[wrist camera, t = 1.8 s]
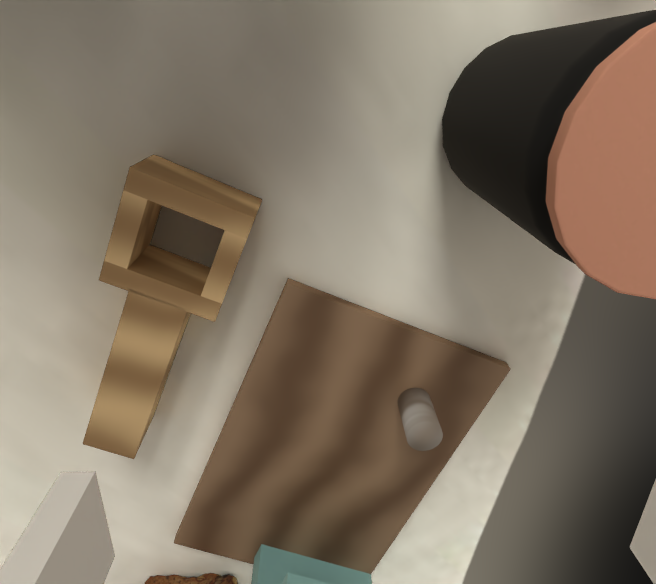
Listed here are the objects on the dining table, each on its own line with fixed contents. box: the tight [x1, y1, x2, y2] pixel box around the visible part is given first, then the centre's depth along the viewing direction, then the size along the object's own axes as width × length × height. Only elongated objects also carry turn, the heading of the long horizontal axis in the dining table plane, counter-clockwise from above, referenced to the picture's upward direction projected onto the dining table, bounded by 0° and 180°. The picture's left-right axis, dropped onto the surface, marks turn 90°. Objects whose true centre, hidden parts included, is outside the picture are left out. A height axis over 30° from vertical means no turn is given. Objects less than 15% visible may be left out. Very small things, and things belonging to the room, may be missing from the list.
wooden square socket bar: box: [83, 155, 262, 459], centre depth 37 cm, size 22×8×5 cm, turn 156°
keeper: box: [251, 544, 372, 584], centre depth 45 cm, size 12×10×11 cm
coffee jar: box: [442, 10, 656, 299], centre depth 26 cm, size 11×11×18 cm
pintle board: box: [174, 278, 510, 574], centre depth 43 cm, size 20×30×6 cm, turn 156°
